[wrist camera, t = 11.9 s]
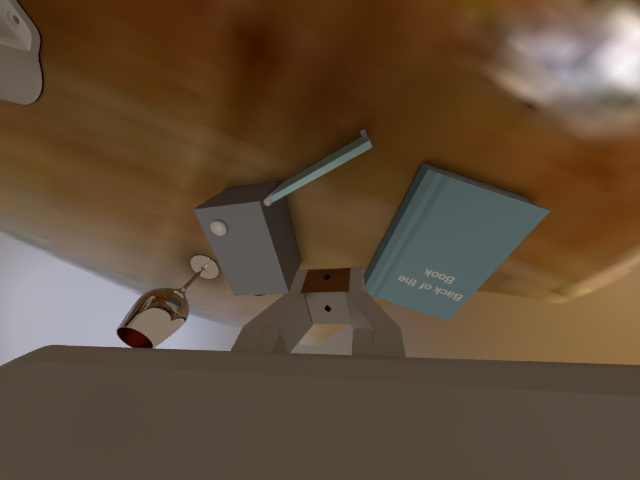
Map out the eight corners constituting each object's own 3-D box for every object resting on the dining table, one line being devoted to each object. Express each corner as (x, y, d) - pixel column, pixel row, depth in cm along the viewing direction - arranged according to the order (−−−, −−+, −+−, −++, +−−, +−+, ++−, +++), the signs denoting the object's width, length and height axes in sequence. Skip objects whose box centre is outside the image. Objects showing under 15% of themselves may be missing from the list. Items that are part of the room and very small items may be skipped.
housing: (226, 189, 39) (190, 211, 31) (280, 181, 37) (257, 203, 29) (258, 272, 48) (237, 307, 39) (303, 270, 46) (291, 306, 37)
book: (439, 300, 45) (447, 321, 41) (362, 275, 45) (362, 293, 40) (525, 196, 33) (550, 210, 29) (420, 162, 33) (430, 170, 28)
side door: (283, 188, 37) (266, 207, 30) (276, 177, 36) (257, 194, 29) (370, 139, 31) (372, 148, 25) (364, 125, 31) (365, 130, 24)
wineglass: (223, 285, 51) (165, 361, 36) (189, 276, 52) (116, 348, 36) (222, 256, 47) (155, 329, 32) (185, 247, 47) (100, 314, 32)
